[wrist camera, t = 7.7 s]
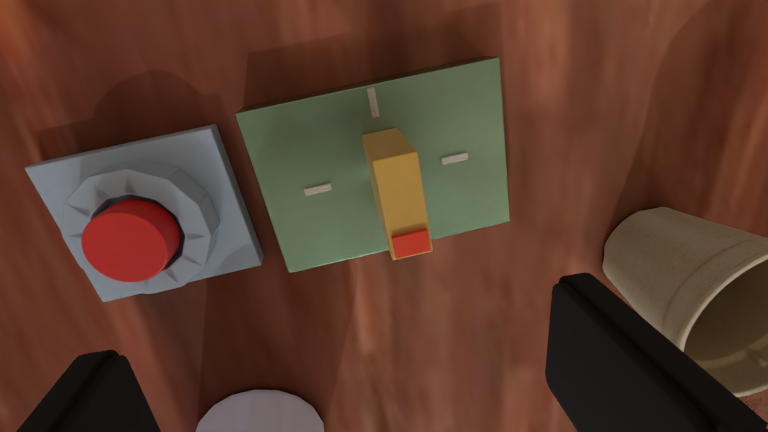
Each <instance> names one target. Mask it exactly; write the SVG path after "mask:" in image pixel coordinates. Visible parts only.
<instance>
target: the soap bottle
mask: <svg viewBox="0 0 768 432" xmlns="http://www.w3.org/2000/svg"><path fill="white" fill-rule="evenodd" d="M196 432H324V424H323V422H322V420H321V419H320V417H319V415H318V414H317V412H316V411H315V409H314V407H312V406H311V405H310V404H308V403H307V402H305V401H304V400H302V399H301V398H300V397H298V396H295V395H292V394H289V393H285V392H282V391H279V390H251V391H246V392H242V393H238V394H234V395H231V396H229V397H227V398H226V399H224V400H222V401H220V402H219V403H217V404H215V405H213V406H212V408H211V409H210V410H209V411H208V412H207V413H206V414H205V416H204V417H203V418H202V419H201V420H200V421H199V423H198V426H197V429H196Z"/></svg>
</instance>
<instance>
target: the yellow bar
mask: <svg viewBox="0 0 768 432" xmlns="http://www.w3.org/2000/svg"><path fill="white" fill-rule="evenodd" d="M361 137H362V141H363V146H364V151H365V156H366V160H367V165H368V170H369V174H370V179H371V184H372V189H373V193H374V198H375V203H376V207H377V212H378V216H379V219H380V223H381V226H382V229H383V232H384V235H385V238H386V241H387V244H388V248H389V251H390V254H391V257H392V259H393V260H397V259H401V258H405V257H410V256H414V255H418V254H422V253H427V252H431V251H433V247H432V241H431V235H430V228H429V222H428V215H427V209H426V203H425V196H424V190H423V183H422V177H421V170H420V164H419V158H418V152H417V151H416V149H415V148H414V147H413V146H412V145H411V144H410V143H409V142H408V141H407V139H406V138H405V137H404V136H403V135H402V134H401V133H400V132H399V131H398V129H397V128H392V129H387V130H383V131H378V132H374V133H369V134H364V135H362V136H361Z"/></svg>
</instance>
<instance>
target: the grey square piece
mask: <svg viewBox="0 0 768 432" xmlns="http://www.w3.org/2000/svg"><path fill="white" fill-rule="evenodd" d="M25 170H26V172H27V174H28V176H29V177H30V179H31V181H32V182H33V184H34V186H35V187H36V189H37V191H38V193H39V194H40V196H41V198H42V199H43V201H44V203H45V205H46V206H47V208H48V210H49V211H50V213H51V215H52V216H53V218H54V220H55V222H56V223H57V225H58V227H59V228H60V230H61V232H62V233H61V234H62V237H63V239H64V241H65V242H66V244H67V246H68V247H69V249H70V251H71V253H72V254H73V256H74V258H75V259H76V261H77V263H78V264H79V266H80V267H81V268H82V269H84V271H85V273H86V274H87V276H88V278H89V279H90V281H91V283H92V285H93V286H94V288H95V290H96V291H97V293H98V295H99V297H100V298H101V300H102V301H103V302H106V301H110V300H115V299H119V298H123V297H127V296H132V295H136V294H140V293H144V294H153V293H157V292H161V291H165V290H170V289H174V288H178V287H182V286H184V285H185V284H186V283H187V282H191V281H196V280H200V279H204V278H209V277H213V276H217V275H221V274H226V273H230V272H234V271H238V270H243V269H247V268H251V267H256V266H260V265H261V263H262V260H263V256H264V255H263V252H262V249H261V247H260V244H259V241H258V238H257V236H256V233H255V230H254V227H253V224H252V222H251V219H250V216H249V213H248V211H247V208H246V205H245V202H244V200H243V197H242V194H241V191H240V189H239V186H238V183H237V180H236V177H235V175H234V172H233V169H232V166H231V164H230V161H229V158H228V155H227V153H226V150H225V147H224V144H223V142H222V139H221V136H220V133H219V130H218V128H217V125H216V124H213V125H208V126H204V127H199V128H194V129H190V130H185V131H180V132H176V133H171V134H166V135H162V136H157V137H152V138H148V139H143V140H139V141H134V142H129V143H125V144H120V145H115V146H111V147H106V148H101V149H97V150H92V151H87V152H83V153H78V154H73V155H69V156H64V157H59V158H55V159H50V160H45V161H41V162H38V163H35V164H33V165H30V166H28V167H26V168H25ZM127 199H141V200H146V201H150V202H153V203H155V204H157V205H159V206H161V207H162V208H164V209H165V210H166V211H167V212H168V213H169V214H170V215H171V216H172V217H173V218H174V220H175V221H176V223H177V225H178V228H179V232H180V243H179V246H178V249H177V251H176V252H175V254H174V255H173V256H172V258H171V259H170V260H169V262H168V263H167V264H166V266H165V267H164V269H163V270H162V271H161V272H160V273H159V274H157V275H156V276H154V277H153V278H150V279H148V280H145V281H141V282H122V281H117V280H114V279H111V278H109V277H107V276H105V275H103V274H101V273H100V272H98V271H97V270H96V269H95V268H94V267H93V266H92V265H91V264H90V263H89V262H88V260H87V259H86V257H85V255H84V253H83V250H82V245H81V239H82V234H83V231H84V229H85V227H86V225H87V224H88V223H89V222H90V221H91V220H92V219H94V218H95V217H96V216H98V215H99V214H100V213H102V212H103V211H104V210H106V209H107V208H108V207H110V206H111V205H113V204H114V203H117V202H119V201H122V200H127Z"/></svg>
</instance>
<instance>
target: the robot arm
mask: <svg viewBox="0 0 768 432" xmlns="http://www.w3.org/2000/svg"><path fill="white" fill-rule="evenodd" d="M545 375H546V380H547V384H548V386H549V388H550V390H551V391H552V393H553V394H554V396H555V398H556V399H557V401H558V402H559V404H560V405H561V407H562V408H563V410H564V411H565V413H566V414H567V416H568V417H569V419H570V420H571V422H572V423H573V425H574V426H575V428H576V429H577V431H578V432H768V430H767V429H766V426H767V424H768V423H767V422H765V421H764V420H763V419H762V418H761V417H760V416H758V415H757V414H756V413H755V412H754V411H752V410H751V409H750V408H749V407H748V406H747V405H745V404H744V403H743V402H742V401H741V400H739V399H738V398H737V397H736V396H735V395H734V394H732V393H731V392H730V391H729V390H728V389H726V388H725V387H724V386H723V385H722V384H721V383H719V382H718V381H717V380H716V379H715V378H713V377H712V376H711V375H710V374H709V373H708V372H706V371H705V370H704V369H703V368H702V367H700V366H699V365H698V364H697V363H696V362H695V361H693V360H692V359H691V358H690V357H689V356H687V355H686V354H685V353H684V352H683V351H682V350H680V349H679V348H678V347H677V346H676V345H674V344H673V343H672V342H671V341H670V340H669V339H667V338H666V337H665V336H664V335H663V334H661V333H660V332H659V331H658V330H657V329H656V328H654V327H653V326H652V325H651V324H650V323H648V322H647V321H646V320H645V319H644V318H643V317H641V316H640V315H639V314H638V313H637V312H635V311H634V310H633V309H632V308H631V307H630V306H628V305H627V304H626V303H625V302H624V301H622V300H621V299H620V298H619V297H618V296H617V295H615V294H614V293H613V292H612V291H611V290H609V289H608V288H607V287H606V286H605V285H603V284H602V283H601V282H600V281H599V280H598V279H596V278H595V277H594V276H593V275H591V274H590V273H580V274H574V275H568V276H563V277H561V278H560V280H559V283H558V284H555V285H554V286H553V290H552V301H551V313H550V324H549V336H548V347H547V359H546V370H545ZM17 432H161V431H160V429H159V427H158V425H157V422H156V420H155V418H154V416H153V414H152V411H151V409H150V407H149V405H148V403H147V401H146V398H145V396H144V394H143V392H142V390H141V387H140V385H139V383H138V381H137V379H136V377H135V374H134V372H133V370H132V368H131V366H130V363H129V361H128V360H127V358H126V357H125V356H122V355H120V356H119V354H118V353H117V352H116V351H114V350H107V351H101V352H94V353H88V354H83V355H80V356H78V357H77V358H76V359H75V360H74V361H73V362H72V364H71V365H70V366H69V367H68V369H67V370H66V371H65V372H64V374H63V375H62V376H61V377H60V378H59V380H58V381H57V382H56V383H55V385H54V386H53V387H52V388H51V390H50V391H49V392H48V393H47V395H46V396H45V397H44V398H43V400H42V401H41V402H40V403H39V404H38V406H37V407H36V408H35V409H34V411H33V412H32V413H31V414H30V416H29V417H28V418H27V419H26V421H25V422H24V423H23V424H22V426H21V427H20V428H19V429H18V430H17Z"/></svg>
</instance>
